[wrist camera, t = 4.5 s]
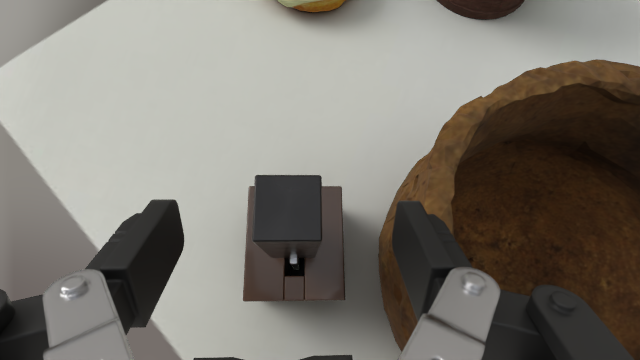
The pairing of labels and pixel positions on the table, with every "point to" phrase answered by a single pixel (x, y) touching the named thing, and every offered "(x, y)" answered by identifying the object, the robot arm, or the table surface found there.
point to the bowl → (538, 192)
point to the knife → (288, 216)
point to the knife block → (319, 273)
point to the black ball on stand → (482, 7)
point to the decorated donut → (312, 4)
